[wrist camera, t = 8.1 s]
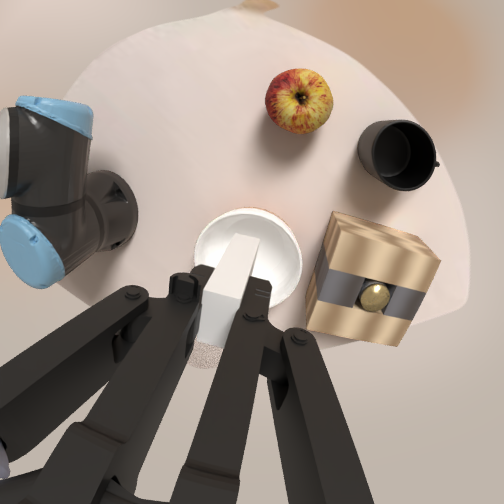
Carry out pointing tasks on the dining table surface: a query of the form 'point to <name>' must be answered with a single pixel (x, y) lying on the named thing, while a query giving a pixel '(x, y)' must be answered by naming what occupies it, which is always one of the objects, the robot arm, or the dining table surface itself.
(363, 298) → the peg
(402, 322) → the socket block
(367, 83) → the dining table surface
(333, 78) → the dining table surface
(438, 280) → the dining table surface
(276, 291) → the bowl
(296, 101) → the apple
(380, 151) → the mug
